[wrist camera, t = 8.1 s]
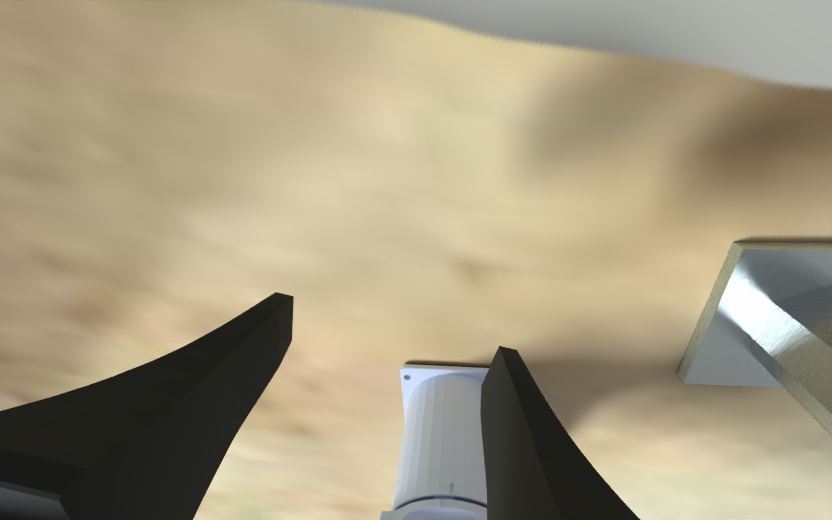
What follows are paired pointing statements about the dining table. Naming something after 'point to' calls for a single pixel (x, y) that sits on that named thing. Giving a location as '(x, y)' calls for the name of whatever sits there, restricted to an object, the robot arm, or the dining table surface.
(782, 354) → the collar
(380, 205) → the dining table surface
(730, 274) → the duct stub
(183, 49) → the dining table surface
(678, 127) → the dining table surface
